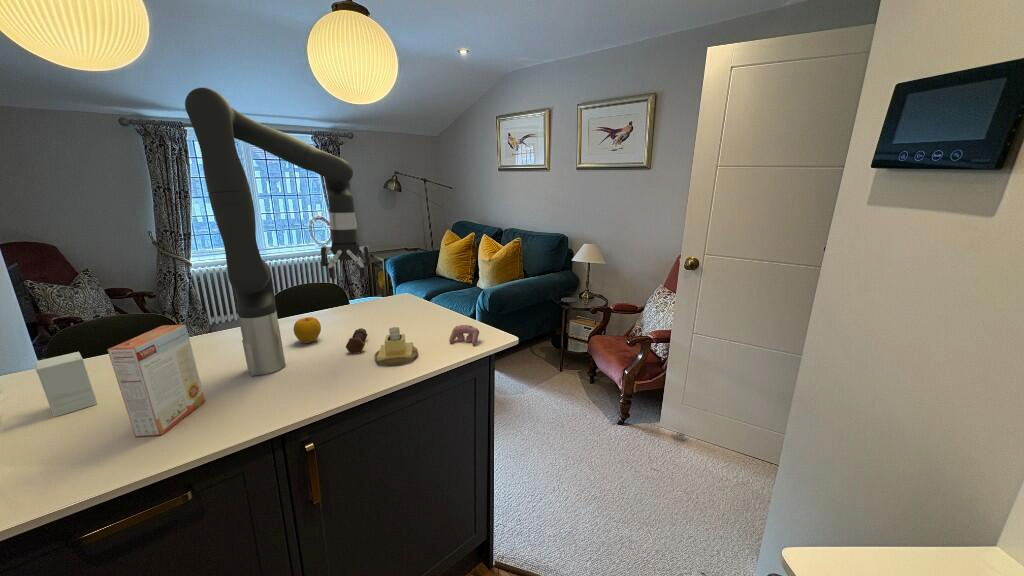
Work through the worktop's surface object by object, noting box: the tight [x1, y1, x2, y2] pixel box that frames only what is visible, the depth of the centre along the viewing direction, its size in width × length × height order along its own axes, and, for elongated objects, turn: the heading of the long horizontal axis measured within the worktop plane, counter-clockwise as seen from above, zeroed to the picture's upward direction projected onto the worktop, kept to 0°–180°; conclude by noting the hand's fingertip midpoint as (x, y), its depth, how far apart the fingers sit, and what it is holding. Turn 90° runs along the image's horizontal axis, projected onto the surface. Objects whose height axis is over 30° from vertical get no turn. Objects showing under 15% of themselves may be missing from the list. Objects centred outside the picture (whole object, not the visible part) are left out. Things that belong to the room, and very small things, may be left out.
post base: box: [374, 326, 419, 367], centre depth 120 cm, size 13×13×10 cm
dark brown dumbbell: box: [345, 327, 368, 355], centre depth 131 cm, size 6×5×15 cm
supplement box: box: [35, 351, 98, 418], centre depth 94 cm, size 7×7×13 cm
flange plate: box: [377, 333, 414, 361], centre depth 120 cm, size 10×10×5 cm
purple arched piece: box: [448, 324, 480, 346], centre depth 132 cm, size 10×5×7 cm, turn 75°
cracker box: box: [107, 324, 206, 438], centre depth 87 cm, size 14×6×21 cm, turn 4°
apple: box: [293, 316, 322, 344], centre depth 133 cm, size 8×8×9 cm
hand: (348, 278), depth 122 cm, fingers open, 8 cm apart
